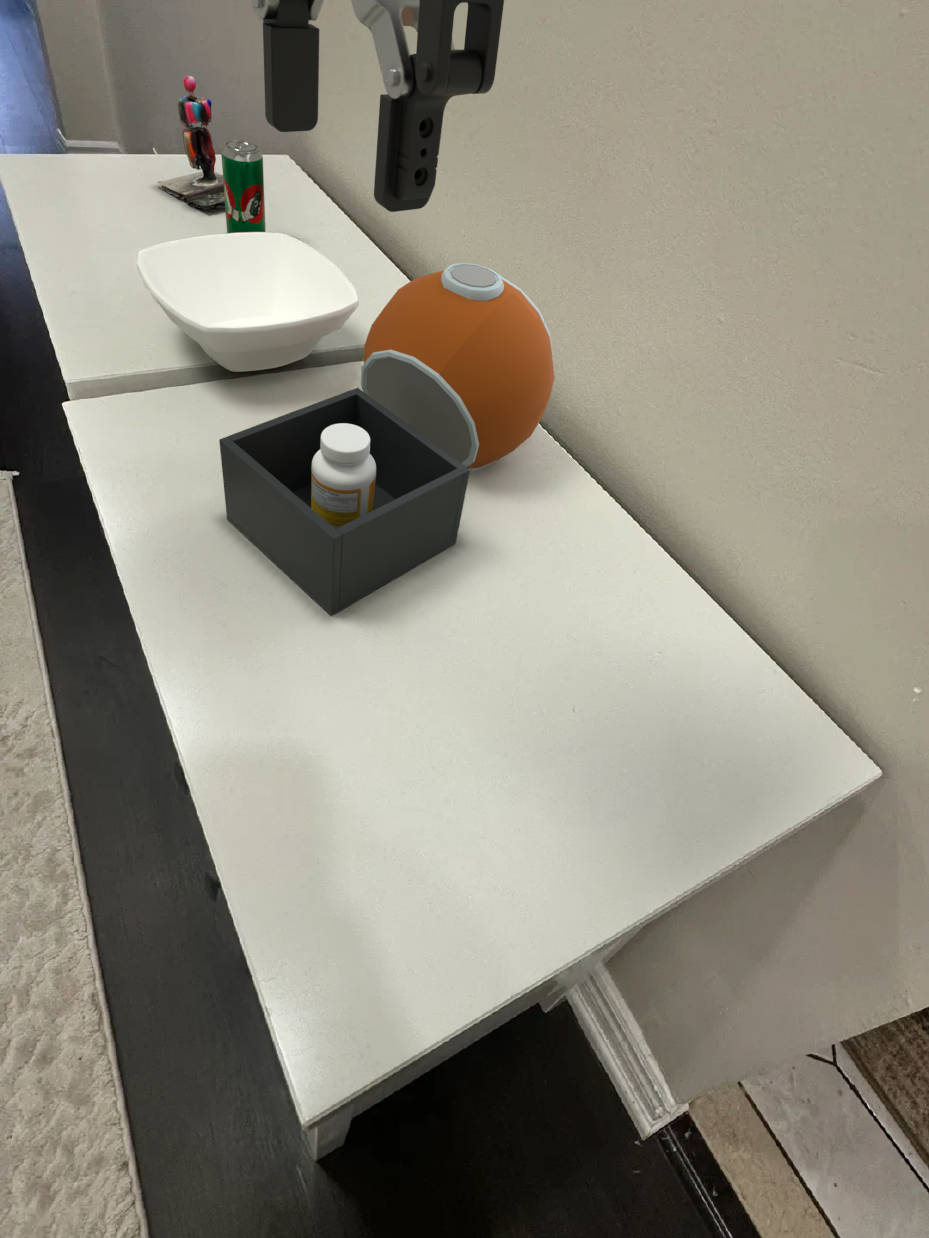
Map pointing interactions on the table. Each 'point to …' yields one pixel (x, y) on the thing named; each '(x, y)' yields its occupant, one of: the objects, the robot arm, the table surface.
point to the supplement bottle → (343, 475)
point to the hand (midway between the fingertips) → (343, 165)
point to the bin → (366, 547)
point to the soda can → (243, 187)
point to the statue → (197, 154)
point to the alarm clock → (462, 362)
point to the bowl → (248, 295)
